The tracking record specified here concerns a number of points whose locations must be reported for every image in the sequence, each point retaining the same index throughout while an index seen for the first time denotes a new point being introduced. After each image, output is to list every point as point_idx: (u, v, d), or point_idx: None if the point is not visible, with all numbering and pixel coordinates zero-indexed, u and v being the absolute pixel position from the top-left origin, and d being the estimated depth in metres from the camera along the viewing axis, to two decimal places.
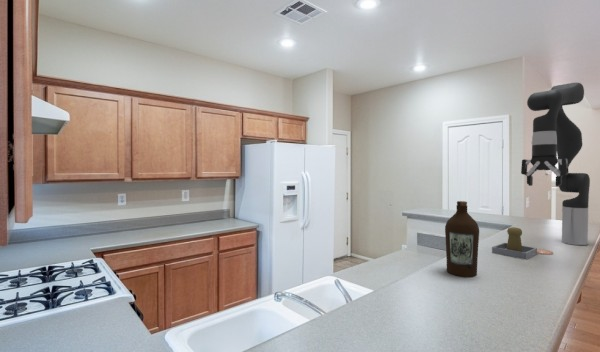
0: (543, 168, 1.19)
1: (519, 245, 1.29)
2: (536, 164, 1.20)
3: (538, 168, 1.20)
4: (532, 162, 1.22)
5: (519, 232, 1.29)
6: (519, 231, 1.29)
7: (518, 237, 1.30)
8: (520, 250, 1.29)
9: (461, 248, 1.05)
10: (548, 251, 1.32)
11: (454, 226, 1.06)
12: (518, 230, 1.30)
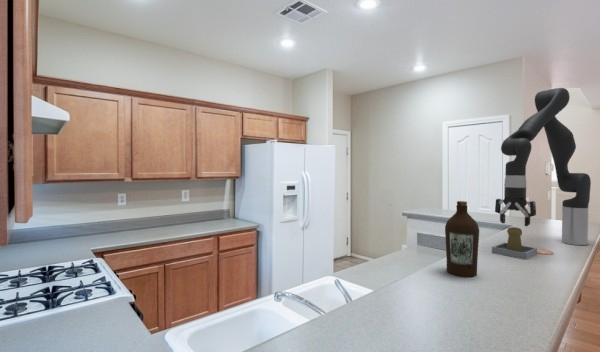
0: (514, 208, 1.31)
1: (519, 245, 1.29)
2: (508, 204, 1.32)
3: (510, 208, 1.32)
4: (504, 202, 1.33)
5: (519, 232, 1.29)
6: (519, 231, 1.29)
7: (518, 237, 1.30)
8: (520, 250, 1.29)
9: (461, 248, 1.05)
10: (548, 251, 1.32)
11: (454, 226, 1.06)
12: (518, 230, 1.30)
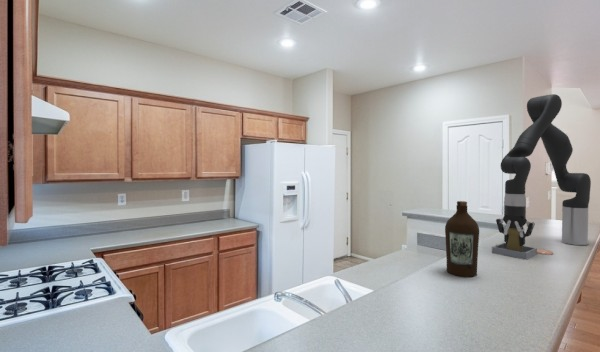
0: (514, 227, 1.31)
1: (519, 245, 1.29)
2: (508, 223, 1.32)
3: (509, 226, 1.32)
4: None
5: (519, 232, 1.29)
6: None
7: (518, 237, 1.30)
8: (520, 250, 1.29)
9: (461, 248, 1.05)
10: (548, 251, 1.32)
11: (454, 226, 1.06)
12: None
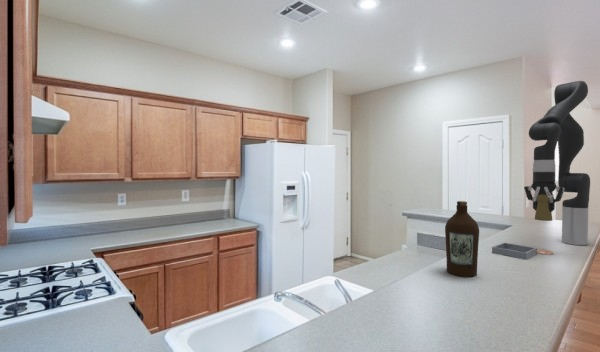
0: (543, 193, 1.32)
1: (548, 211, 1.30)
2: (537, 189, 1.33)
3: (538, 192, 1.33)
4: (533, 188, 1.34)
5: (549, 198, 1.30)
6: None
7: (547, 203, 1.31)
8: (550, 215, 1.30)
9: (461, 248, 1.05)
10: (548, 251, 1.32)
11: (454, 226, 1.06)
12: (547, 196, 1.30)
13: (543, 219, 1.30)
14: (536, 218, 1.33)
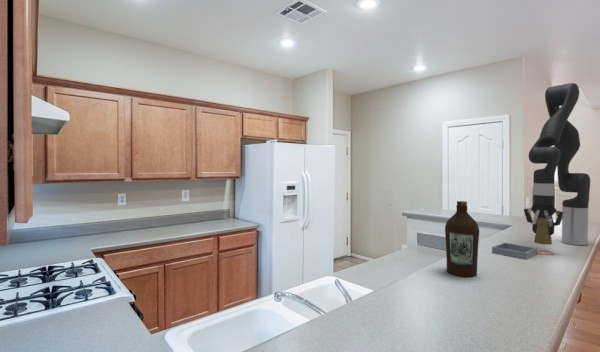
0: (542, 216, 1.32)
1: (548, 234, 1.30)
2: (537, 212, 1.33)
3: (538, 216, 1.33)
4: (533, 211, 1.35)
5: (548, 221, 1.30)
6: None
7: (547, 226, 1.31)
8: (549, 239, 1.30)
9: (461, 248, 1.05)
10: (548, 251, 1.32)
11: (454, 226, 1.06)
12: None
13: (542, 242, 1.31)
14: (536, 241, 1.33)
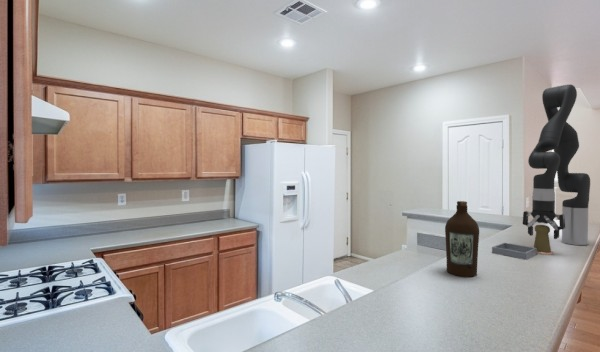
0: (542, 221, 1.32)
1: (546, 242, 1.31)
2: (536, 217, 1.33)
3: (538, 221, 1.33)
4: (532, 215, 1.35)
5: (547, 229, 1.31)
6: (547, 228, 1.31)
7: (546, 234, 1.31)
8: (548, 247, 1.31)
9: (461, 248, 1.05)
10: None
11: (454, 226, 1.06)
12: (546, 227, 1.31)
13: (541, 251, 1.31)
14: None
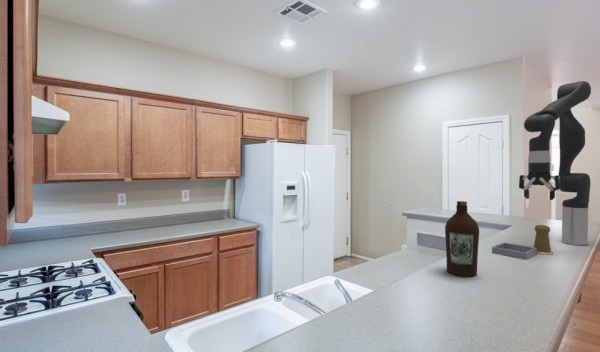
0: (538, 183, 1.34)
1: (546, 242, 1.31)
2: (532, 180, 1.35)
3: (534, 183, 1.35)
4: (528, 178, 1.37)
5: (547, 229, 1.31)
6: (547, 228, 1.31)
7: (546, 234, 1.31)
8: (548, 247, 1.31)
9: (461, 248, 1.05)
10: None
11: (454, 226, 1.06)
12: (546, 227, 1.31)
13: (541, 251, 1.31)
14: None
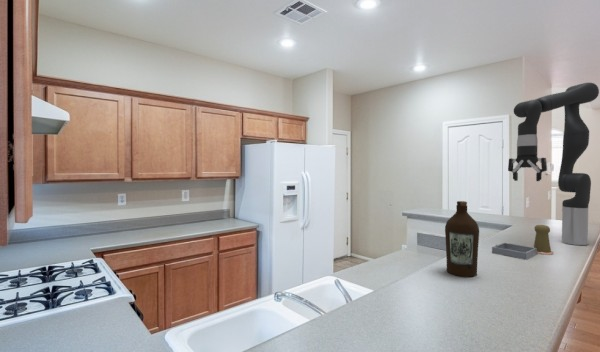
0: (526, 166, 1.41)
1: (546, 242, 1.31)
2: (520, 162, 1.42)
3: (522, 166, 1.43)
4: (517, 161, 1.44)
5: (547, 229, 1.31)
6: (547, 228, 1.31)
7: (546, 234, 1.31)
8: (548, 247, 1.31)
9: (461, 248, 1.05)
10: None
11: (454, 226, 1.06)
12: (546, 227, 1.31)
13: (541, 251, 1.31)
14: None
